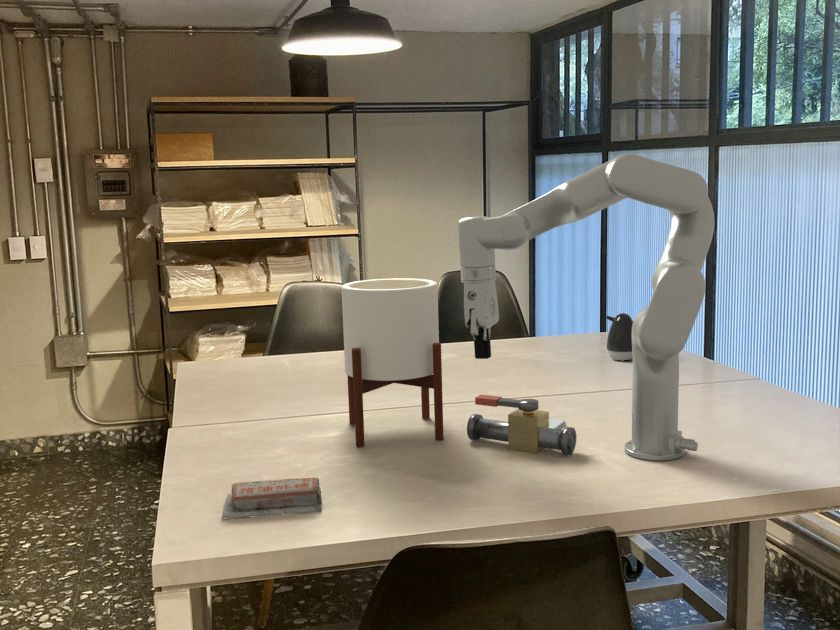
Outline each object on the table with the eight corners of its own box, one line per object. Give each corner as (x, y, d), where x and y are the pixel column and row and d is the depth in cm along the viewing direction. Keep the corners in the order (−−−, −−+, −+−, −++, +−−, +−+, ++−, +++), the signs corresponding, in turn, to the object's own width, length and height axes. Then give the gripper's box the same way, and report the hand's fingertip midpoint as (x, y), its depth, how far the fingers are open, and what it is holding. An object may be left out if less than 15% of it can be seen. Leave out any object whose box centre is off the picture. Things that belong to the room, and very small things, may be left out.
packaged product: (320, 471, 165) (321, 489, 155) (321, 495, 166) (322, 514, 156) (225, 477, 163) (220, 496, 153) (227, 502, 163) (221, 522, 154)
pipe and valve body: (576, 450, 186) (576, 411, 184) (565, 458, 181) (565, 418, 180) (479, 436, 199) (479, 399, 197) (467, 443, 194) (466, 405, 192)
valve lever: (541, 406, 188) (541, 399, 188) (534, 411, 184) (534, 404, 184) (482, 400, 195) (482, 393, 195) (474, 405, 191) (473, 398, 191)
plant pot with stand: (449, 441, 195) (445, 287, 190) (352, 449, 192) (345, 292, 186) (432, 415, 217) (428, 276, 212) (344, 422, 214) (338, 280, 208)
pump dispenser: (604, 356, 282) (605, 310, 279) (637, 356, 280) (637, 310, 278) (607, 362, 272) (607, 315, 269) (640, 362, 270) (641, 315, 268)
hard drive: (534, 416, 210) (513, 429, 199) (565, 420, 206) (545, 434, 195) (534, 423, 210) (513, 436, 200) (565, 427, 206) (545, 440, 195)
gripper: (483, 278, 175) (488, 365, 177) (505, 269, 188) (509, 351, 191) (449, 279, 178) (455, 365, 180) (473, 270, 191) (477, 350, 194)
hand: (483, 357), depth 186 cm, fingers closed
